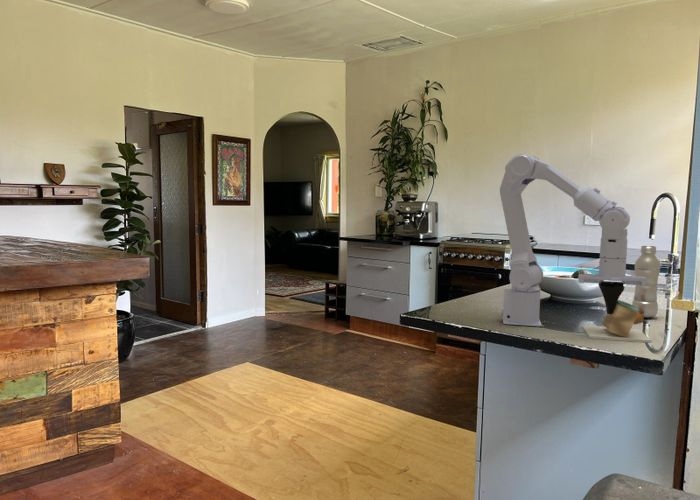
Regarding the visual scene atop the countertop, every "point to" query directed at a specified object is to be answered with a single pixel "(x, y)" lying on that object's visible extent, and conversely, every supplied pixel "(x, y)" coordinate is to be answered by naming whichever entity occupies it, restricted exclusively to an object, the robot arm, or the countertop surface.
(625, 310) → the tan green block
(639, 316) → the pastry
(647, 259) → the plastic bottle
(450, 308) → the countertop surface
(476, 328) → the countertop surface
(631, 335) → the mat
